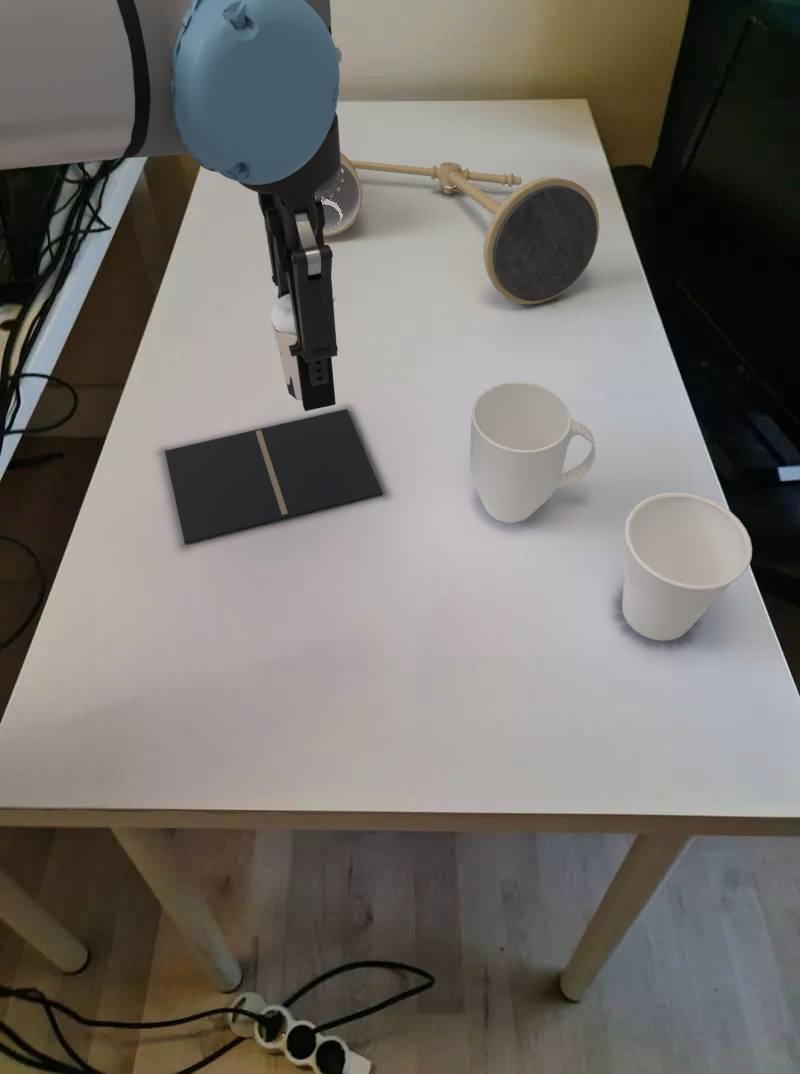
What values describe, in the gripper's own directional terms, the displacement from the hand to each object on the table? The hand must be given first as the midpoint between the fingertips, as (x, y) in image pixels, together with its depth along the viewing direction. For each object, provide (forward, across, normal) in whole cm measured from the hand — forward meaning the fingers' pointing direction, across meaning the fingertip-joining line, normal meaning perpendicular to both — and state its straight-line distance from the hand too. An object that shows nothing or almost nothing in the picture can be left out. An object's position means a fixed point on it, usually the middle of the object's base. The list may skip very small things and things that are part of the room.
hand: (312, 386), depth 72 cm
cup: (+15, -23, -25) cm, 37 cm away
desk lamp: (+15, +42, -24) cm, 51 cm away
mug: (+15, -7, -19) cm, 25 cm away
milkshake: (0, 0, 0) cm, 0 cm away
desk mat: (+15, +5, +4) cm, 16 cm away
